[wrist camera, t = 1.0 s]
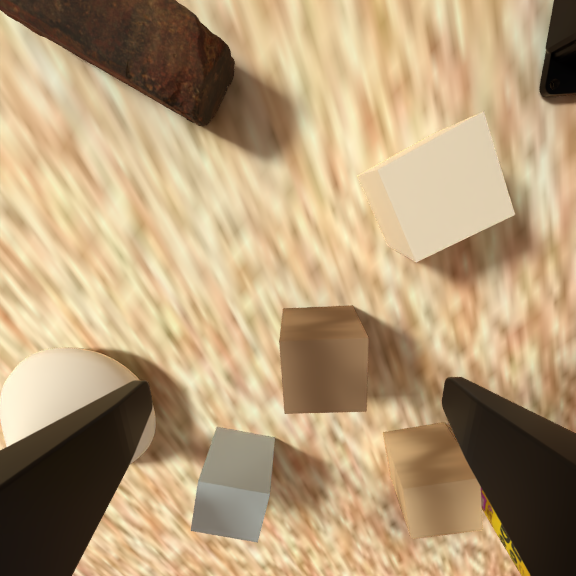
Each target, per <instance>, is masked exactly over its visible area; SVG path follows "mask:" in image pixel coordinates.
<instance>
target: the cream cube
mask: <svg viewBox="0 0 576 576" xmlns="http://www.w3.org/2000/svg"><path fill="white" fill-rule="evenodd" d="M357 178H358V180H359V182H360V184H361V187H362V189H363V191H364V193H365V196H366V198H367V200H368V203H369V205H370V207H371V209H372V212H373V214H374V216H375V218H376V221H377V223H378V225H379V228H380V230H381V232H382V234H383V237H384V239H385V241H386V243H387V246H388V247H390V248H392V249H394V250H395V251H397V252H399V253H401V254H402V255H404V256H406V257H408V258H409V259H411V260H413V261H415V262H418V261H420V260H422V259H424V258H426V257H428V256H431V255H433V254H435V253H437V252H439V251H441V250H443V249H445V248H447V247H449V246H451V245H453V244H455V243H458V242H460V241H462V240H464V239H466V238H468V237H470V236H472V235H474V234H476V233H478V232H480V231H482V230H485V229H487V228H489V227H491V226H493V225H495V224H497V223H499V222H501V221H503V220H505V219H507V218H509V217H512V216H514V215H515V213H514V209H513V206H512V203H511V199H510V196H509V193H508V190H507V186H506V183H505V180H504V176H503V173H502V170H501V166H500V163H499V160H498V157H497V153H496V150H495V147H494V143H493V140H492V137H491V133H490V130H489V127H488V123H487V120H486V117H485V114H484V111H483V112H481V113H479V114H477V115H474V116H472V117H470V118H467V119H465V120H463V121H461V122H458V123H456V124H454V125H451V126H449V127H447V128H445V129H442V130H440V131H438V132H436V133H433V134H432V135H430V136H428V137H426V138H424V139H422V140H421V141H419V142H417V143H415V144H413V145H412V146H410V147H408V148H406V149H404V150H403V151H401V152H399V153H397V154H395V155H394V156H392V157H390V158H388V159H386V160H385V161H383V162H381V163H379V164H377V165H376V166H374V167H372V168H370V169H368V170H366V171H365V172H363V173H361V174H359V175H357Z"/></svg>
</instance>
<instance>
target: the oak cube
mask: <svg viewBox="0 0 576 576" xmlns="http://www.w3.org/2000/svg"><path fill="white" fill-rule="evenodd" d="M383 436H384V442H385V448H386V454H387V460H388V465H389V471H390V477H391V480H392V483H393V486H394V489H395V492H396V495H397V498H398V501H399V504H400V507H401V510H402V513H403V516H404V519H405V522H406V525H407V528H408V531H409V534H410V537H411V539H416V538H424V537H432V536H440V535H448V534H456V533H464V532H472V531H480V530H483V525H482V505H481V486H480V485H479V483H478V481H477V479H476V477H475V476H474V474H473V472H472V470H471V468H470V467H469V465H468V463H467V461H466V459H465V457H464V455H463V453H462V451H461V448H460V446H459V444H458V443H457V441H456V440H455V438H454V437H453V435H452V434H451V432H450V431H449V429H448V427H447V426H446V424H445V423H444V422H443V423H437V424H431V425H425V426H419V427H413V428H406V429H400V430H394V431H388V432H383Z"/></svg>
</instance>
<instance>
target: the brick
mask: <svg viewBox="0 0 576 576" xmlns="http://www.w3.org/2000/svg"><path fill="white" fill-rule="evenodd" d="M0 10H1V11H2V12H4V13H5V14H6V15H7V16H9V17H11V18H12V19H14V20H15V21H18V22H20V23H21V24H23V25H24V26H26V27H27V28H29V29H30V30H31V31H33V32H35V33H36V34H38V35H40V36H43V37H46V38H47V39H49V40H51V41H53V42H55V43H56V44H58V45H60V46H62V47H63V48H65V49H66V50H68V51H70V52H72V53H73V54H75V55H77V56H79V57H80V58H82V59H84V60H85V61H87V62H89V63H91V64H93V65H95V66H97V67H98V68H100V69H102V70H103V71H105V72H107V73H108V74H110V75H112V76H113V77H115V78H117V79H119V80H120V81H122V82H124V83H126V84H128V85H129V86H131V87H133V88H135V89H136V90H138V91H140V92H141V93H143V94H145V95H147V96H149V97H150V98H152V99H154V100H156V101H157V102H159V103H161V104H162V105H164V106H166V107H167V108H169V109H171V110H172V111H174V112H176V113H178V114H180V115H181V116H183V117H185V118H186V119H187V120H189V121H191V122H194V123H196V124H197V125H199V126H206V125H207V124H208V123H209V122H210V120H211V119H212V118H213V117H214V115H215V113H216V111H217V109H218V107H219V105H220V103H221V101H222V99H223V97H224V95H225V93H226V91H227V86H229V85H230V84H231V81H232V79H233V76H234V65H235V62H234V59H233V58H232V57H231V52H230V49H229V47H228V45H227V44H226V43H225V42H224V41H223V40H222V39H221V38H219V37H218V36H216V35H215V34H213V33H212V32H210V30H209V29H208V28H207V27H205V26H204V25H203V24H202V23H201V22H200V21H199V19H198V18H197V16H196V15H195V14H193V13H192V12H191V11H190V10H188V9H187V8H186V7H185V6H183V5H181V4H179V3H178V2H177V1H176V0H0Z"/></svg>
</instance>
